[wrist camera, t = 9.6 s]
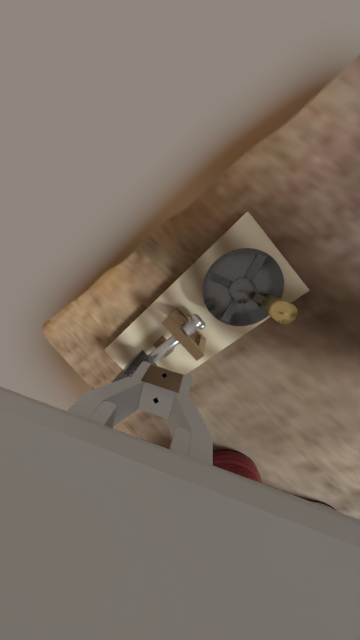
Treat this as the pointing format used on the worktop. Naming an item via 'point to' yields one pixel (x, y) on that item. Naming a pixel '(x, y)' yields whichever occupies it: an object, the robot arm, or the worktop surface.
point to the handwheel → (246, 289)
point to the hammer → (160, 349)
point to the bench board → (199, 304)
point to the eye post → (185, 334)
